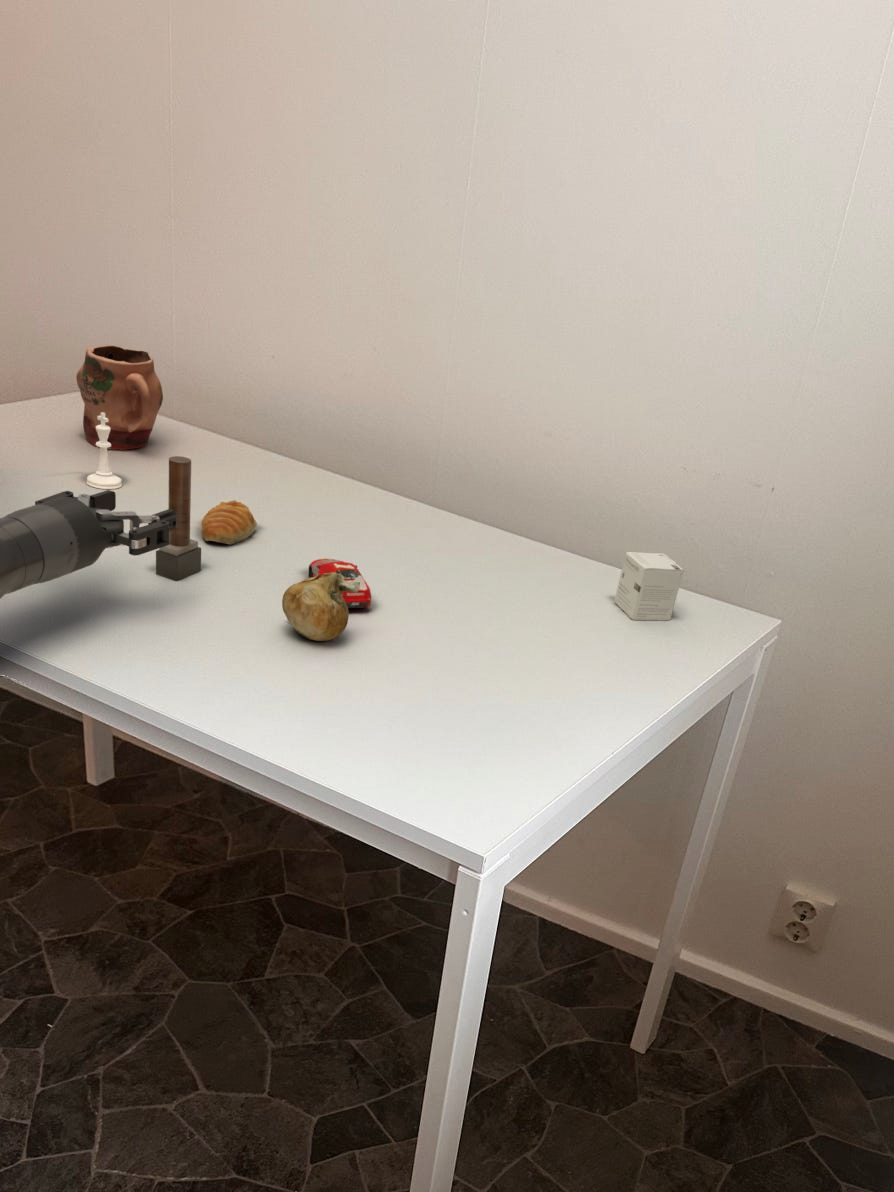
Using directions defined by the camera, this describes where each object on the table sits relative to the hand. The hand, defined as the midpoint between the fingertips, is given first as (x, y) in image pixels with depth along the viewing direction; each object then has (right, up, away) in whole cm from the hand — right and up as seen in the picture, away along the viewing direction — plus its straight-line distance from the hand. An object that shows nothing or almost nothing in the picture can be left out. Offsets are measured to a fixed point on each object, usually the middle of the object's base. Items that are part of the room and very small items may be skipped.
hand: (143, 508), depth 137 cm
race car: (+21, -7, +13) cm, 26 cm away
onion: (+20, -15, +1) cm, 25 cm away
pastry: (+5, +3, +25) cm, 25 cm away
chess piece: (-16, +14, +35) cm, 40 cm away
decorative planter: (-18, +25, +51) cm, 60 cm away
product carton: (+61, -7, +24) cm, 66 cm away
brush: (+1, -5, +11) cm, 12 cm away
